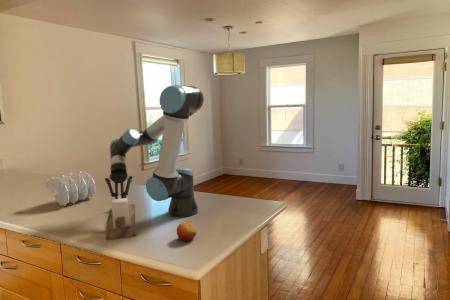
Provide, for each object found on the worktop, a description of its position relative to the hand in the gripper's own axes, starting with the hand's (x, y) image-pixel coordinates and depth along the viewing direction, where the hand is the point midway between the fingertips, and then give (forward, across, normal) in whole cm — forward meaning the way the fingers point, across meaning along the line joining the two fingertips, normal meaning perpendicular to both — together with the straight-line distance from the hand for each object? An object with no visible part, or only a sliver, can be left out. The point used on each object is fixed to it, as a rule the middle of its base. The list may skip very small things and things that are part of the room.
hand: (119, 208), depth 155 cm
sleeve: (+8, 0, -2) cm, 8 cm away
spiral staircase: (-32, +28, -45) cm, 62 cm away
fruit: (+24, -26, +12) cm, 38 cm away
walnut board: (0, 0, -12) cm, 12 cm away
